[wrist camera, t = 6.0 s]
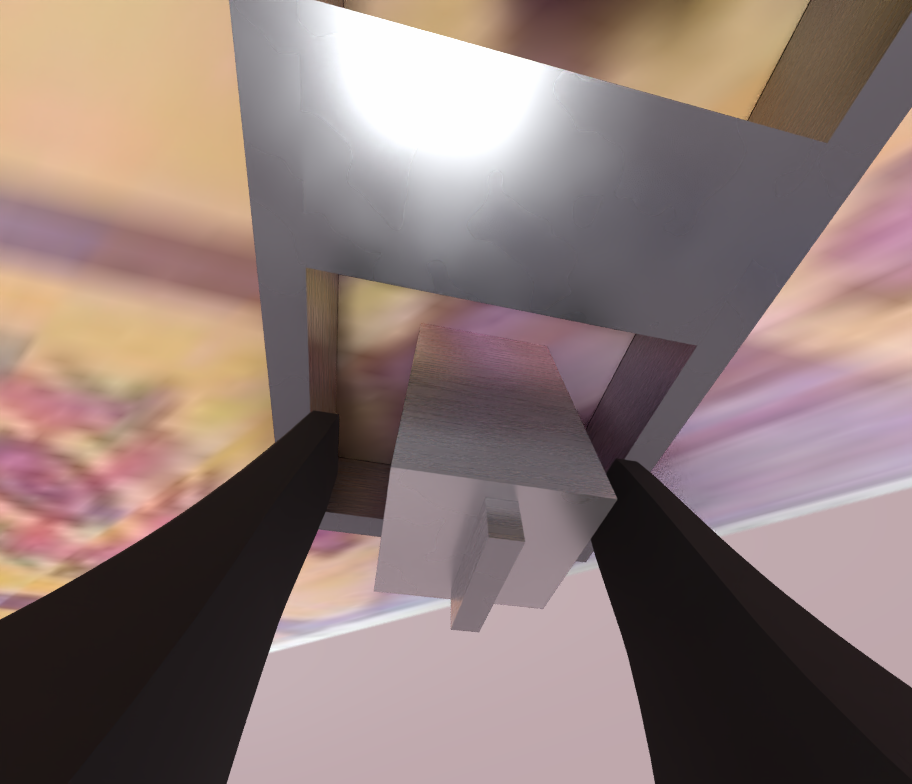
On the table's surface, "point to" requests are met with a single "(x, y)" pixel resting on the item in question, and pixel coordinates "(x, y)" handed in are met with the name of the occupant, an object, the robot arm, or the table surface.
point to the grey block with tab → (487, 478)
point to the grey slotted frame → (542, 198)
